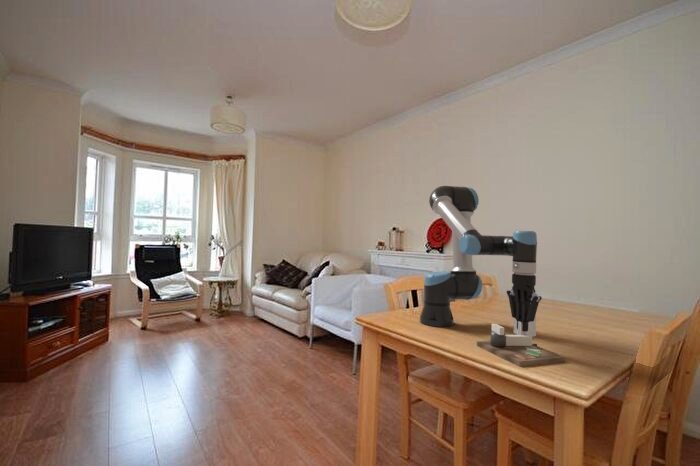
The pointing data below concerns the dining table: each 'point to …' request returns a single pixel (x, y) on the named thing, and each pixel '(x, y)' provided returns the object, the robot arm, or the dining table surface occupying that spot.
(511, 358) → the board
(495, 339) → the peg lever
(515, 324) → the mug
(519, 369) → the dining table surface
